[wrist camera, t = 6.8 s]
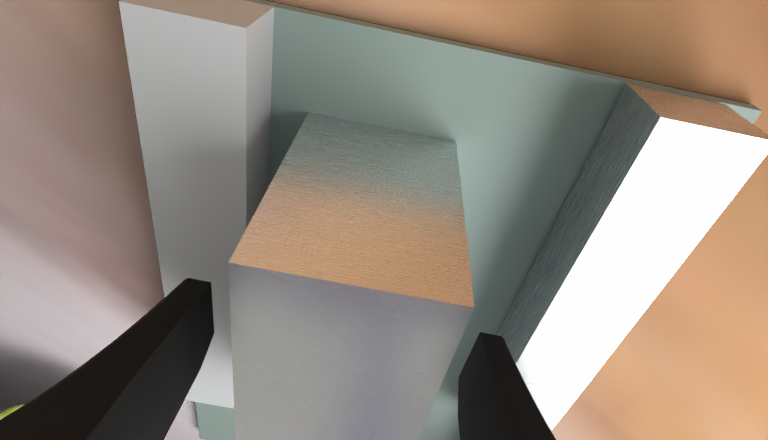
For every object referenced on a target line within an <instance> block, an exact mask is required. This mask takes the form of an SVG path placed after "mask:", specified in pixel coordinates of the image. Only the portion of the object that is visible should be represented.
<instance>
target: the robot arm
mask: <svg viewBox="0 0 768 440" xmlns="http://www.w3.org/2000/svg"><path fill="white" fill-rule="evenodd" d="M213 335H214V320H213V304H212V288H211V282H208V281H202V280H197V279H192V278H187V279H185V280H183V281H182V282H181V283H180V284H179V285H178V286H177V287H176V288H175V289H174V290H172V291H171V292H170V293H169V294H168V295H167V296H166V297H165V298H164V299H163V300H161V301H160V302H159V303H158V304H157V305H156V306H155V307H154V308H152V309H151V310H150V311H149V312H148V313H147V314H146V315H144V316H143V317H142V318H141V319H140V320H139V321H137V322H136V323H135V324H134V325H133V326H131V327H130V328H129V329H128V330H127V331H125V332H124V333H123V334H122V335H121V336H119V337H118V338H117V339H116V340H114V341H113V342H112V343H111V344H109V345H108V346H107V347H106V348H104V349H103V350H102V351H100V352H99V353H98V354H96V355H95V356H94V357H92V358H91V359H90V360H89V361H87V362H86V363H85V364H83V365H82V366H81V367H79V368H78V369H77V370H75V371H74V372H72V373H71V374H70V375H68V376H67V377H65V378H64V379H63V380H61V381H60V382H58V383H57V384H55V385H54V386H52V387H51V388H49V389H48V390H46V391H45V392H43V393H42V394H40V395H39V396H37V397H36V398H34V399H33V400H31V401H30V402H28V403H27V404H25V405H23V406H22V407H20V408H19V409H17V410H15V411H14V412H12V413H10V414H9V415H7V416H6V417H4V418H2V419H1V420H0V440H164V438H165V436H166V434H167V432H168V430H169V429H170V427H171V425H172V423H173V421H174V419H175V417H176V415H177V413H178V411H179V409H180V408H181V406H182V404H183V402H184V400H185V398H186V396H187V394H188V392H189V390H190V388H191V386H192V385H193V383H194V381H195V379H196V377H197V375H198V373H199V371H200V369H201V366H202V364H203V361H204V359H205V356H206V354H207V351H208V348H209V346H210V343H211V340H212V338H213ZM458 424H459V435H460V440H556V439H555V437H554V435H553V434H552V432H551V430H550V428H549V427H548V425H547V423H546V421H545V420H544V418H543V416H542V414H541V412H540V410H539V408H538V407H537V405H536V403H535V401H534V399H533V397H532V395H531V393H530V391H529V390H528V388H527V386H526V384H525V382H524V380H523V378H522V375H521V373H520V371H519V369H518V367H517V365H516V363H515V361H514V359H513V357H512V355H511V353H510V350H509V348H508V346H507V344H506V342H505V340H504V338H503V337H502V336H498V335H493V334H488V333H482V332H480V333H479V335H478V337H477V339H476V341H475V344H474V346H473V348H472V350H471V352H470V354H469V356H468V358H467V360H466V362H465V364H464V367H463V369H462V371H461V373H460V375H459V379H458Z"/></svg>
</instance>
